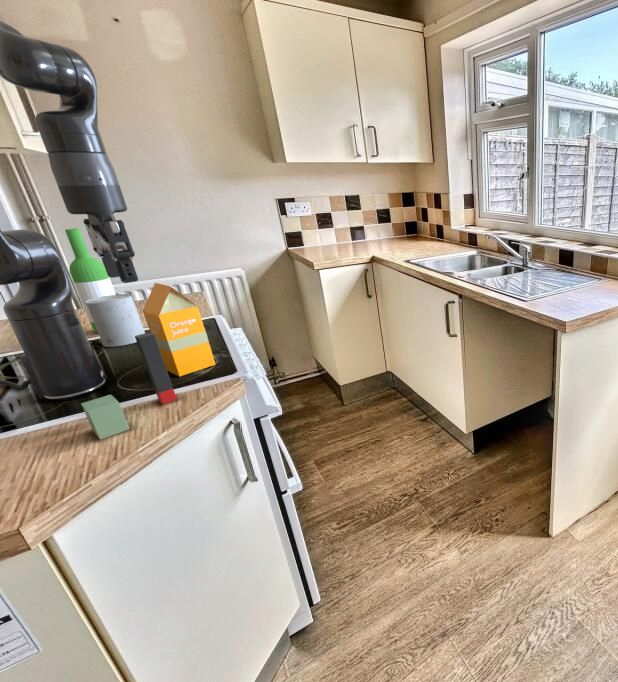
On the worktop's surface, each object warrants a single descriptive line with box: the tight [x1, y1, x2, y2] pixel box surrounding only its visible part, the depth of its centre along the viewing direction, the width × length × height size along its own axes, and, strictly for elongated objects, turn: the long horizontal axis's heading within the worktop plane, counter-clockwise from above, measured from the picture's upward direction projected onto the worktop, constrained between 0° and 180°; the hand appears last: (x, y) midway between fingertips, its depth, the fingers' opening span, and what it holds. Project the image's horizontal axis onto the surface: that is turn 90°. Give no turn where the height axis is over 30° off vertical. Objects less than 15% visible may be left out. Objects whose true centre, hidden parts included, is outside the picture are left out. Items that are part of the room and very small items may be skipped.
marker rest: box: [80, 394, 131, 440], centre depth 74 cm, size 4×5×6 cm
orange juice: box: [142, 282, 216, 377], centre depth 97 cm, size 8×9×20 cm
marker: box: [135, 331, 178, 405], centre depth 82 cm, size 14×2×2 cm
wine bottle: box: [64, 228, 117, 333], centre depth 124 cm, size 8×8×30 cm
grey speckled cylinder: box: [85, 293, 146, 348], centre depth 117 cm, size 10×10×12 cm
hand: (123, 279), depth 76 cm, fingers open, 8 cm apart
